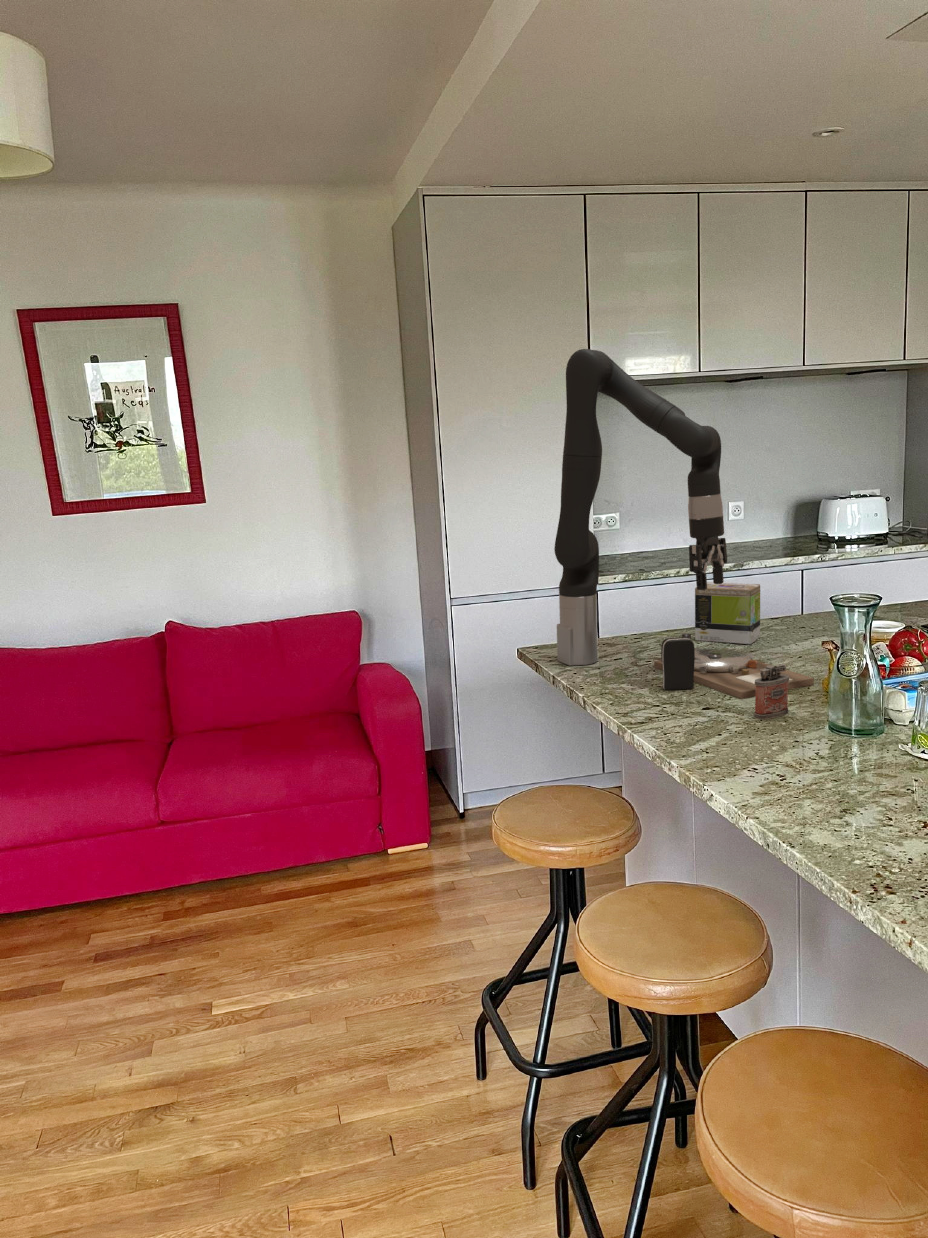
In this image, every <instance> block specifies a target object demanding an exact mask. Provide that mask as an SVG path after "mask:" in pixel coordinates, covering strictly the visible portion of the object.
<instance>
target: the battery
mask: <svg viewBox="0 0 928 1238" xmlns="http://www.w3.org/2000/svg"><path fill="white" fill-rule="evenodd" d="M695 648H696V647H695V643H694V641H693V640H692V638H691V639H689V638H686V637H682V636H680V637H679V636H678V637H668V638H665V639H663V641H662V642H661V649H660V650H661V651H660V655H661V657H660V660H662V665H663V670H662V688H663V689H664V690H667V691H669V690H671V691H673V690H689V689H694V687H695V684H694V683H695V682H694V663H695Z"/></svg>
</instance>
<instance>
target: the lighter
mask: <svg viewBox="0 0 928 1238" xmlns="http://www.w3.org/2000/svg"><path fill="white" fill-rule="evenodd" d="M769 665H770V664H769ZM769 665H768V666H766V668H765V669H761V670H760V675H761V678H759V679H756V680H755V685H756V695H755V698H754V699H755V700H754V701H755V703H754V704H755V705H754V706H755V707H754V713H753V717H754V719H757V720H768V719H773V718H778V717H782V716H785V715H788V714H789V707H788V701H789V699H788V697H789V690H788V681H789V676H788V675H781V673H780V672H783V671H786V670H787V666H786V664H784V663H781V664H777V665H772V666H769ZM773 666H774V667H773Z"/></svg>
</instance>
